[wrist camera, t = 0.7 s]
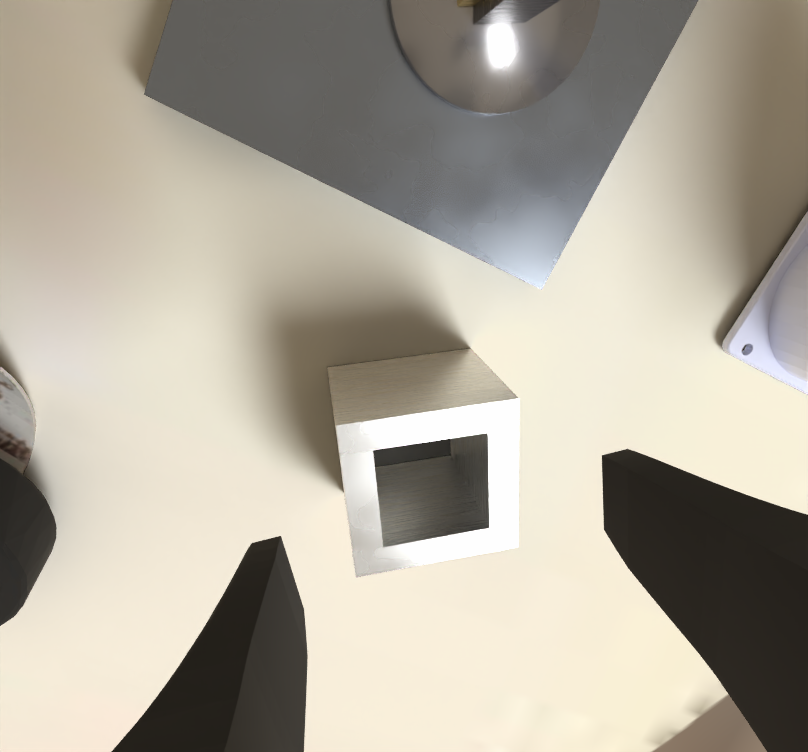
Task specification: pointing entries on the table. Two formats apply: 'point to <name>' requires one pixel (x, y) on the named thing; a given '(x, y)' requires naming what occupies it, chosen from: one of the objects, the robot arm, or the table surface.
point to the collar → (429, 478)
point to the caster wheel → (19, 502)
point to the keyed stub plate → (430, 103)
